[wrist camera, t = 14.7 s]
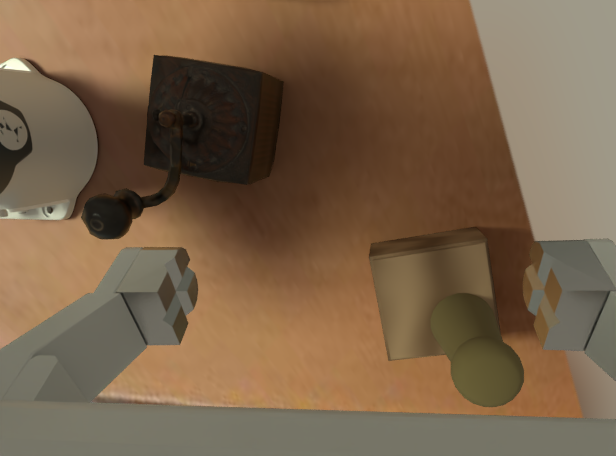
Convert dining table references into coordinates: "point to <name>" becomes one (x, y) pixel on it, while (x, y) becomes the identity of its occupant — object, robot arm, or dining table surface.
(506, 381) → the olive knobbed peg
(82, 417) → the robot arm
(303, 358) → the dining table surface
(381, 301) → the walnut block
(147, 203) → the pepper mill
